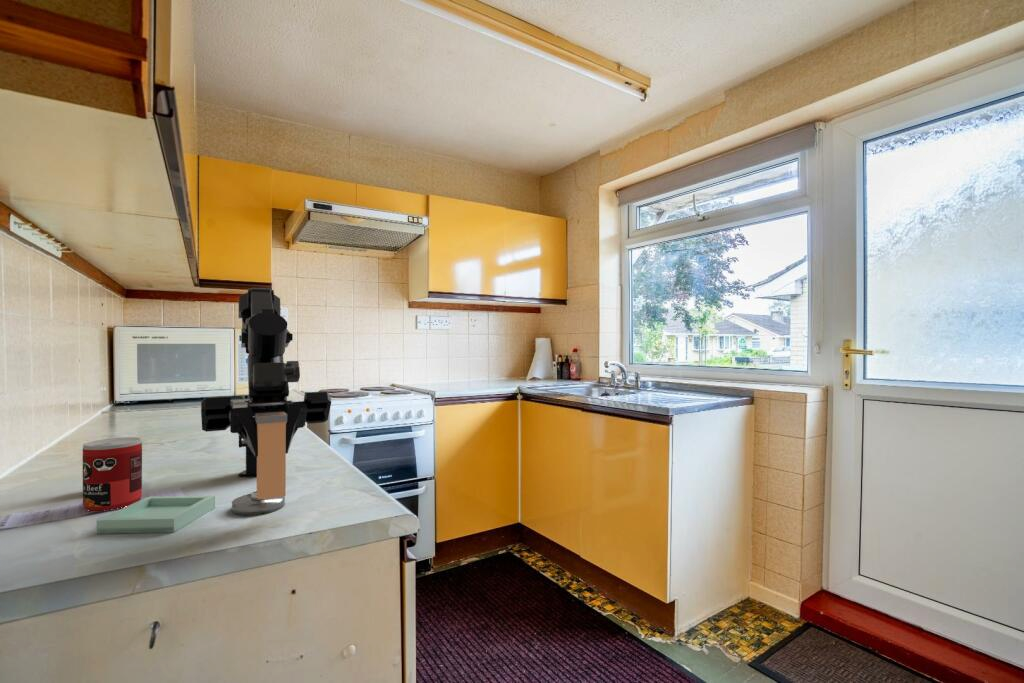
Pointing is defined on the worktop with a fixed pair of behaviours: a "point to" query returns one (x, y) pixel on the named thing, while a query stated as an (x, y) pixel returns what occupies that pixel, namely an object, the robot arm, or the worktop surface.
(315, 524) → the worktop surface
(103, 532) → the tray
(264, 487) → the grey-capped orange pillar
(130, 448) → the canned food
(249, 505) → the metal lid
